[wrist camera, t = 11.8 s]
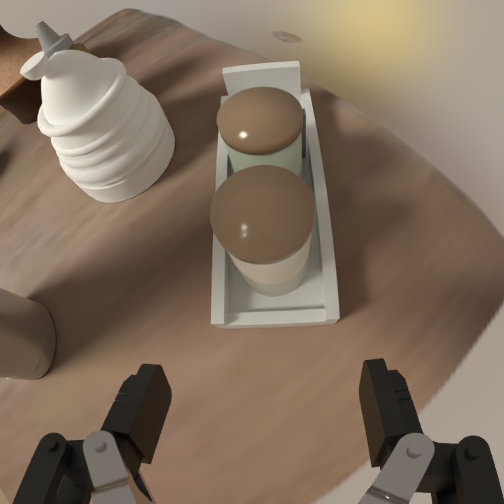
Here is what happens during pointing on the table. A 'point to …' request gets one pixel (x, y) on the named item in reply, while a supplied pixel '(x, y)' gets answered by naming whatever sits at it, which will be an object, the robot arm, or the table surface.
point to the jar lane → (321, 242)
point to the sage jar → (262, 129)
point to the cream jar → (265, 226)
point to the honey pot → (101, 124)
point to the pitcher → (18, 77)
